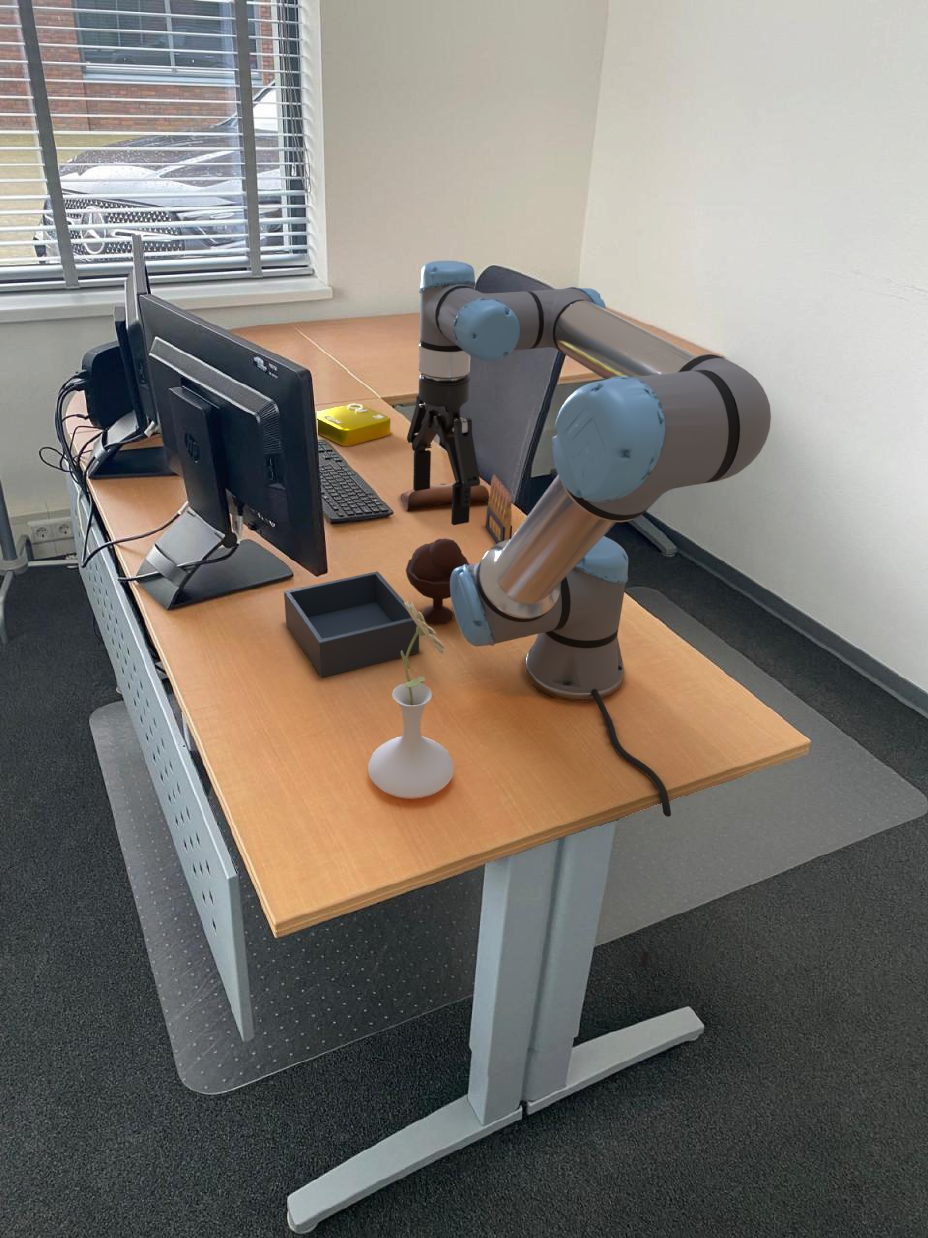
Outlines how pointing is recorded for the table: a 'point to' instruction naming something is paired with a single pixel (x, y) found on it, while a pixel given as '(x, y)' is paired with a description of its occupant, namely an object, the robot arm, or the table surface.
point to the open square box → (350, 623)
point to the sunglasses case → (439, 495)
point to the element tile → (352, 424)
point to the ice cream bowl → (435, 575)
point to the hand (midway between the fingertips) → (440, 505)
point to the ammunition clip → (499, 512)
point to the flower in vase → (412, 737)
